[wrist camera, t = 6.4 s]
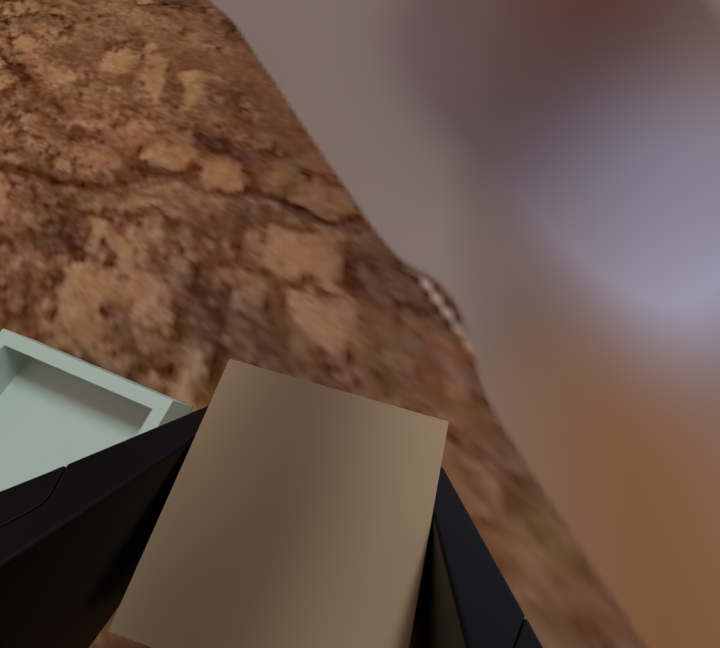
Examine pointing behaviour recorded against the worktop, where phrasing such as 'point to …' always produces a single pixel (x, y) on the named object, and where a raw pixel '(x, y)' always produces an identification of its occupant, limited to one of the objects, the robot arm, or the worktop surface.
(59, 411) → the tray
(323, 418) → the walnut block
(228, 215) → the worktop surface
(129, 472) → the robot arm
